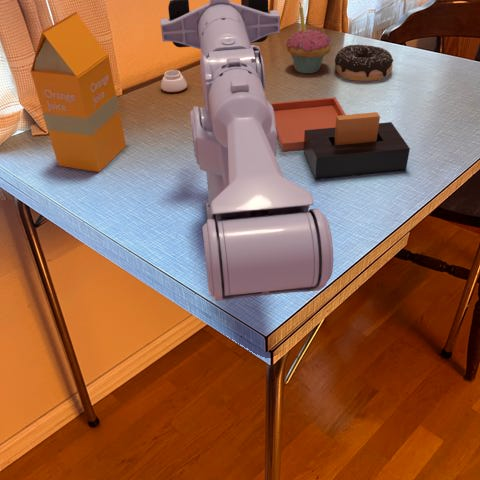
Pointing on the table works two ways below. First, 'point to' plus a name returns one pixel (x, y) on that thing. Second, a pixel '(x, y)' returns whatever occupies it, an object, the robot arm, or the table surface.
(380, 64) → the donut
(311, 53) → the cupcake
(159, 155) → the table surface
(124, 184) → the table surface
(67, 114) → the orange juice
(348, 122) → the toast
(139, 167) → the table surface
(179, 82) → the lidless jar
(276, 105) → the red tray
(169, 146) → the table surface
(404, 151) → the toaster
